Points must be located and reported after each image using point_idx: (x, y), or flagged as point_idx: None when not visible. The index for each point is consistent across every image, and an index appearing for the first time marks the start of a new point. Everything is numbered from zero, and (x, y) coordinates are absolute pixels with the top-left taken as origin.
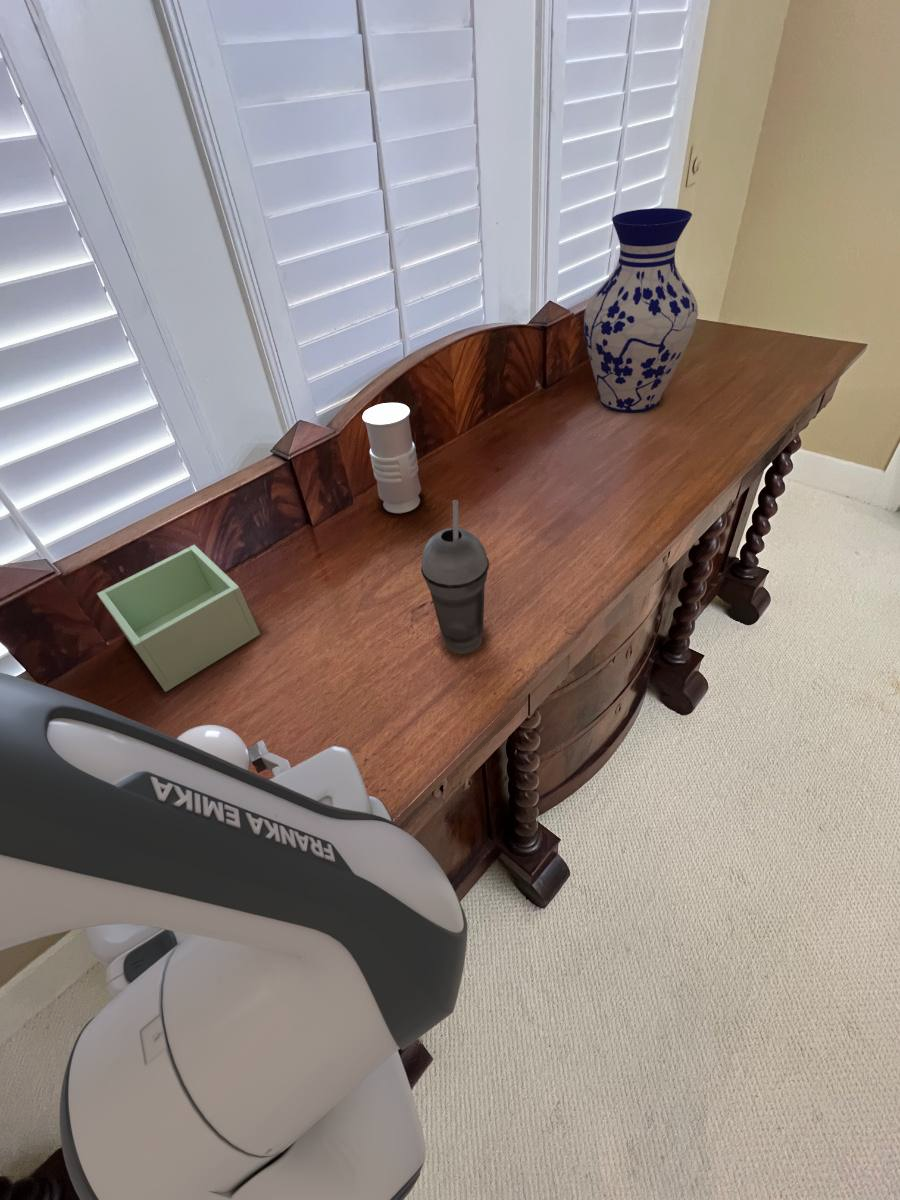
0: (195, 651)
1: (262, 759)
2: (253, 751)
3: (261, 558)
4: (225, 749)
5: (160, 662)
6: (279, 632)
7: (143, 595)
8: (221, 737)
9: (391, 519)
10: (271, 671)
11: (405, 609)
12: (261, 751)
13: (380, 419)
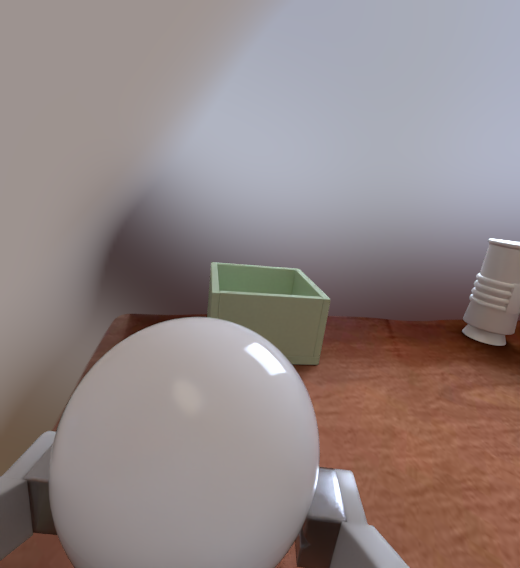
0: None
1: (340, 533)
2: (321, 487)
3: (336, 318)
4: (282, 411)
5: None
6: (338, 373)
7: (240, 285)
8: (285, 371)
9: (473, 343)
10: (318, 403)
11: (512, 429)
12: (346, 503)
13: (512, 243)
